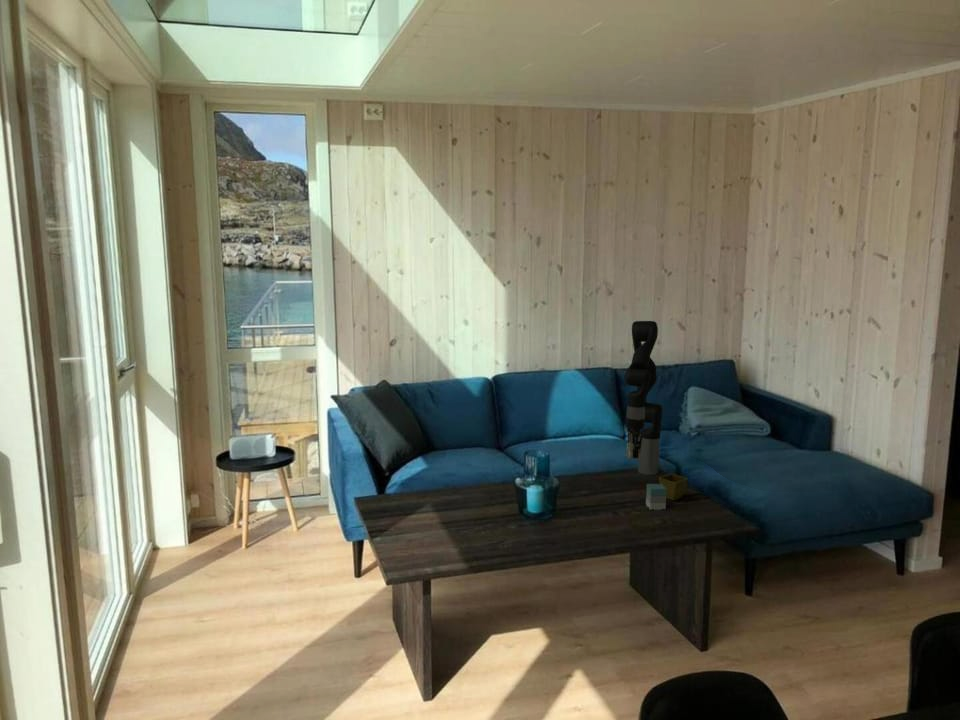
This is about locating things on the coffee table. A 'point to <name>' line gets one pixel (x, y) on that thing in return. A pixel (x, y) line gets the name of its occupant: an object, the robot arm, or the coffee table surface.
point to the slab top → (656, 490)
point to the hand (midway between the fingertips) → (633, 455)
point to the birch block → (630, 451)
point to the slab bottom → (655, 505)
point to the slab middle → (656, 499)
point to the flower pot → (674, 486)
